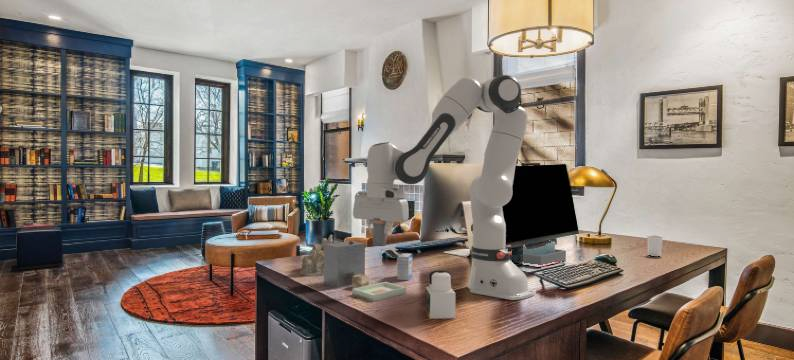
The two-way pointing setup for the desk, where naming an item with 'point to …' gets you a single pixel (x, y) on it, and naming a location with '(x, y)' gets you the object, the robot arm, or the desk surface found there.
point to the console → (343, 263)
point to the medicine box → (404, 266)
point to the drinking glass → (654, 245)
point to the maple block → (360, 281)
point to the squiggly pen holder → (540, 250)
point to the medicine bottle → (440, 296)
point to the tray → (378, 291)
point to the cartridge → (379, 232)
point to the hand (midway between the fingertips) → (379, 234)
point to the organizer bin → (545, 258)
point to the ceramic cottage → (315, 259)
